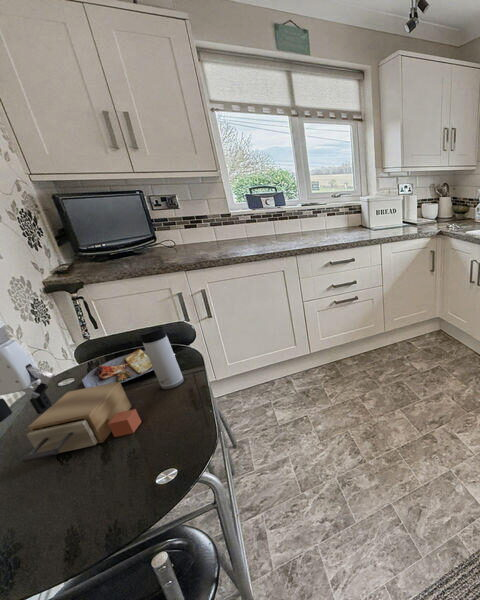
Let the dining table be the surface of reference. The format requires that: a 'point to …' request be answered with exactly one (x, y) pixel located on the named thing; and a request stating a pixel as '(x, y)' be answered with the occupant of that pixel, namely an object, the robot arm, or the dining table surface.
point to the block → (124, 423)
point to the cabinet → (87, 408)
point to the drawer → (60, 439)
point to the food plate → (119, 369)
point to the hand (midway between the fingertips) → (25, 413)
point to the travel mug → (162, 357)
